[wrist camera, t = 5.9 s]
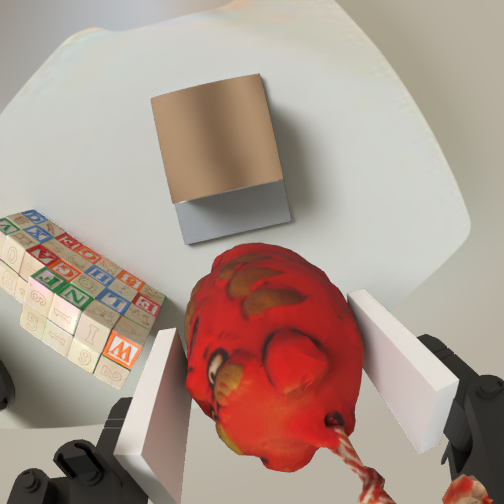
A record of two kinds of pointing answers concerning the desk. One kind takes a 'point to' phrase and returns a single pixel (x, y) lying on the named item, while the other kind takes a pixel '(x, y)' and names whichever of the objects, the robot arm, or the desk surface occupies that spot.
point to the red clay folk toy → (283, 364)
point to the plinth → (216, 137)
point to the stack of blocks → (75, 297)
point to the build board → (233, 210)
